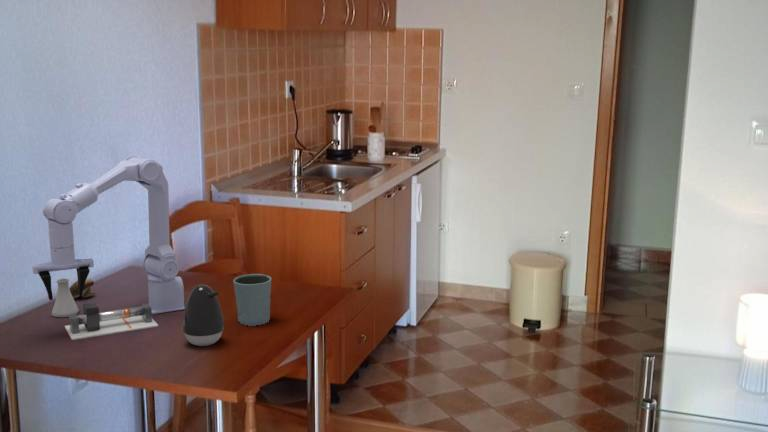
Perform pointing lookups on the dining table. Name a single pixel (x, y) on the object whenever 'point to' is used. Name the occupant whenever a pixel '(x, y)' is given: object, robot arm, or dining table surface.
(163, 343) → the dining table surface
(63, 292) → the flask
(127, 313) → the linear slide rail
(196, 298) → the dark grey penguin toy
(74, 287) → the mushroom
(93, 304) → the dark grey sliding block
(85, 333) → the base board
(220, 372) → the dining table surface
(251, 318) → the grey-green cup
